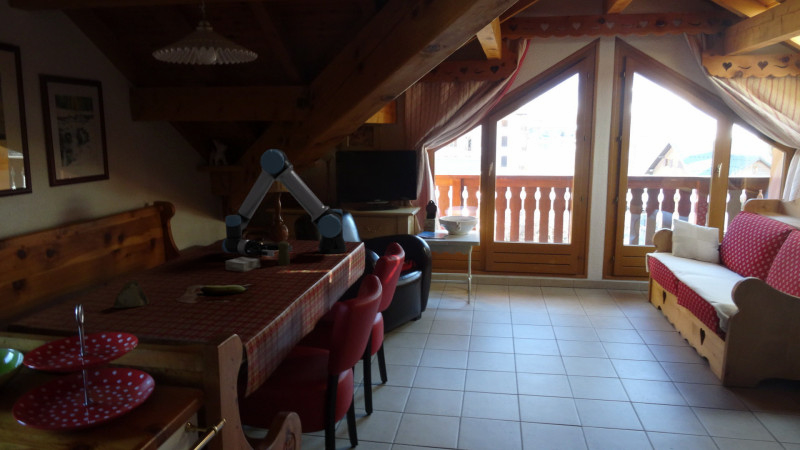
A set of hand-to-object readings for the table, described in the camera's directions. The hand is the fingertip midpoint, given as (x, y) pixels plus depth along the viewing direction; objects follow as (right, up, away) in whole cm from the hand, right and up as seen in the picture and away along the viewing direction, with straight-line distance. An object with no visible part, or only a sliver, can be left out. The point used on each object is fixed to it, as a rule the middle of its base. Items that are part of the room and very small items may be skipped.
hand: (282, 251), depth 262 cm
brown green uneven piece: (-12, -15, -49) cm, 53 cm away
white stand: (-17, -8, -7) cm, 20 cm away
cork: (0, -6, +1) cm, 7 cm away
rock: (-41, -17, -66) cm, 79 cm away
